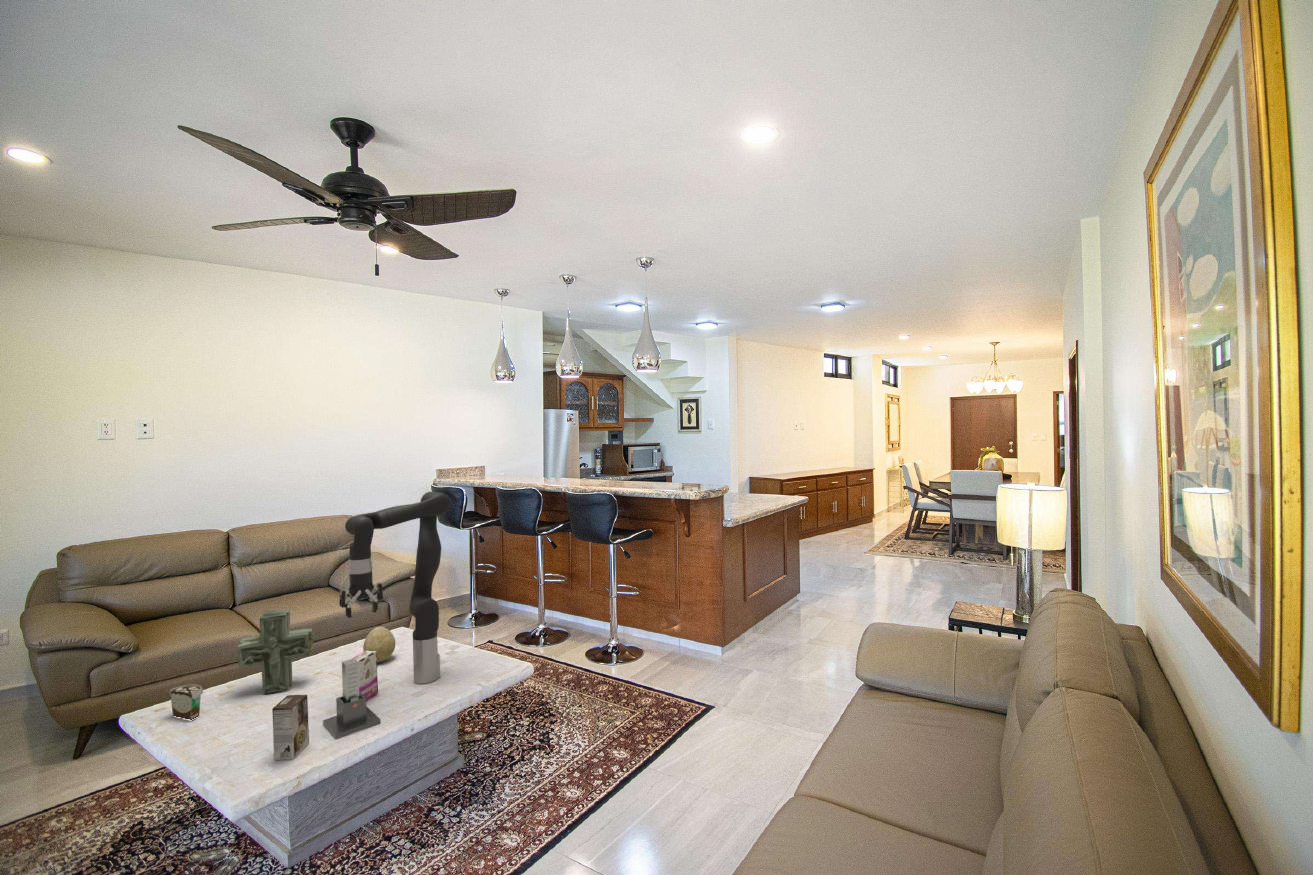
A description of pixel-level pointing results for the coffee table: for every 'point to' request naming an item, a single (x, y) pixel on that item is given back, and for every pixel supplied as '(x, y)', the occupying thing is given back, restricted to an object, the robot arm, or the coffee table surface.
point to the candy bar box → (367, 673)
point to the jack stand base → (351, 717)
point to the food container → (186, 701)
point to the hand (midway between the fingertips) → (362, 614)
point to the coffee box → (290, 727)
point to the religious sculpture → (275, 650)
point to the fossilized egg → (380, 643)
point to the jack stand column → (350, 679)
